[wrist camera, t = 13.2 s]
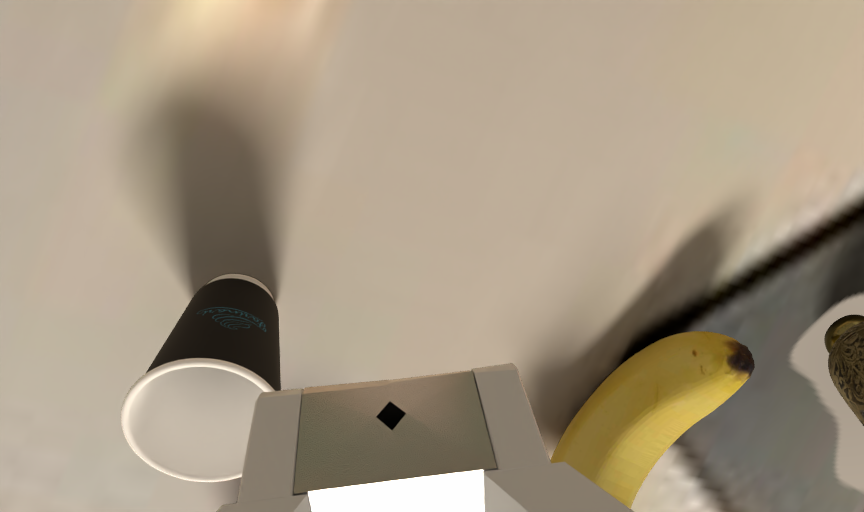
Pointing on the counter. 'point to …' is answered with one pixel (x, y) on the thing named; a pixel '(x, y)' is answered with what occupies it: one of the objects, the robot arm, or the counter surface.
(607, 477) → the banana
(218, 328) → the dixie cup
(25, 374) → the counter surface
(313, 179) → the counter surface
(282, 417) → the robot arm
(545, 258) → the counter surface
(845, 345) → the cup
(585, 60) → the counter surface
